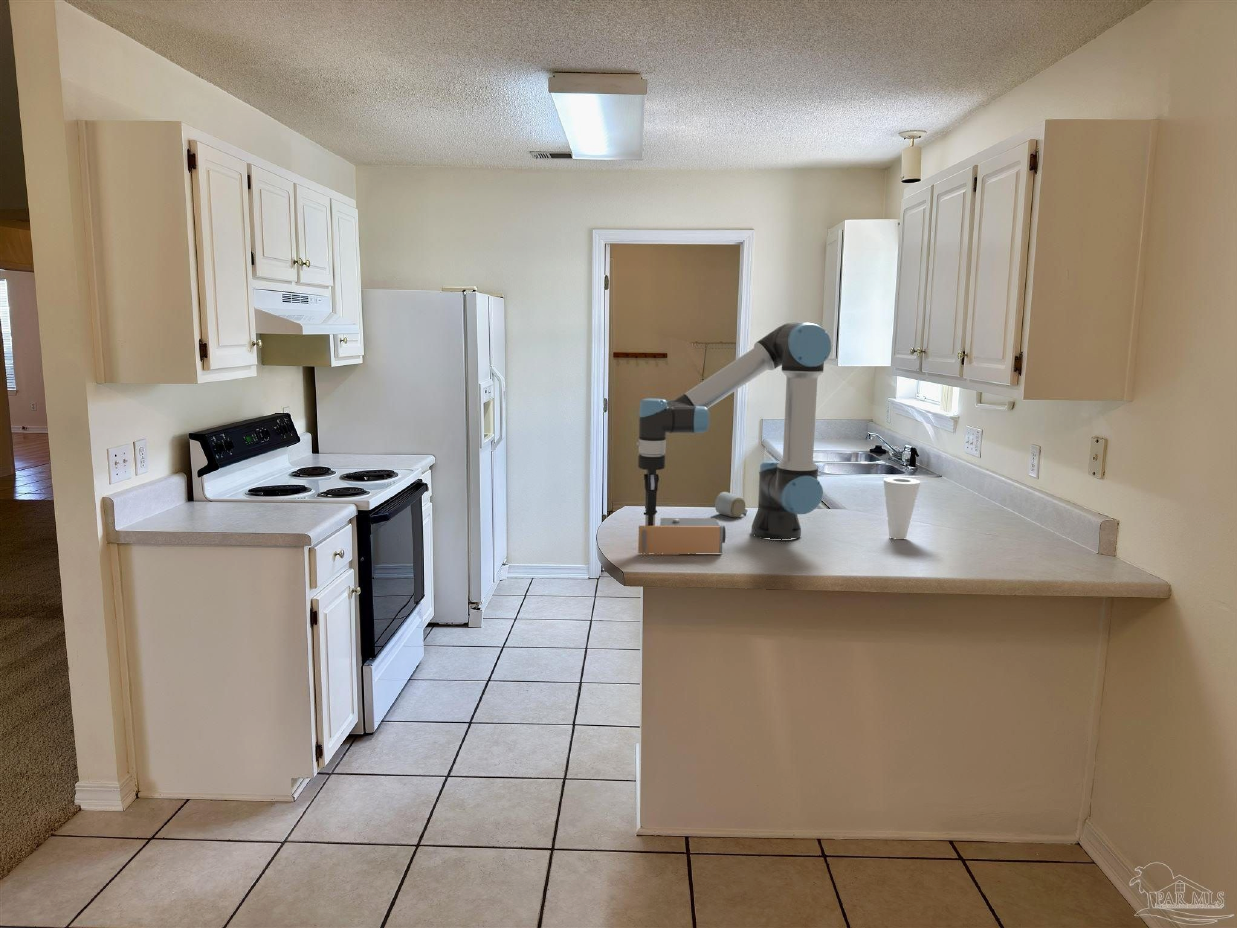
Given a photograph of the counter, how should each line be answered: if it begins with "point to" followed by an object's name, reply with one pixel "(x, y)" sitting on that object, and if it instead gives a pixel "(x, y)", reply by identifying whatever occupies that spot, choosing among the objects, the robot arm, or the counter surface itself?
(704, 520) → the camera housing
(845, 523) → the counter surface
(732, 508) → the ceramic mug
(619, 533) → the counter surface
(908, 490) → the cup
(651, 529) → the door
